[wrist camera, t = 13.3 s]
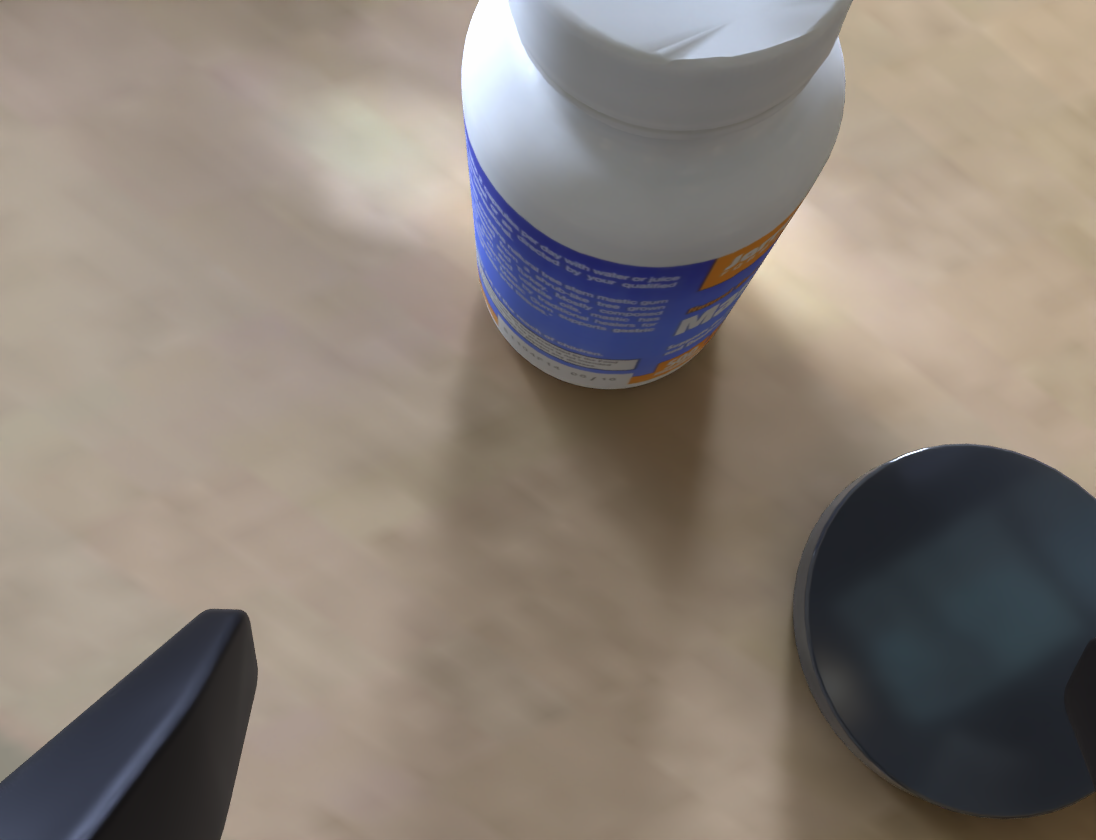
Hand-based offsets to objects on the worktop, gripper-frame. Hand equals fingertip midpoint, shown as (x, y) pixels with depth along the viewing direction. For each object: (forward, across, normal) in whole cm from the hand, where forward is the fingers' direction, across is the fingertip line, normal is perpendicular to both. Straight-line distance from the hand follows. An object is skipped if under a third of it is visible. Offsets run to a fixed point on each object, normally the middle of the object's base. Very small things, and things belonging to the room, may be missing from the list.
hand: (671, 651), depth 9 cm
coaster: (+6, -7, +5) cm, 11 cm away
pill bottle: (+11, 0, 0) cm, 11 cm away
